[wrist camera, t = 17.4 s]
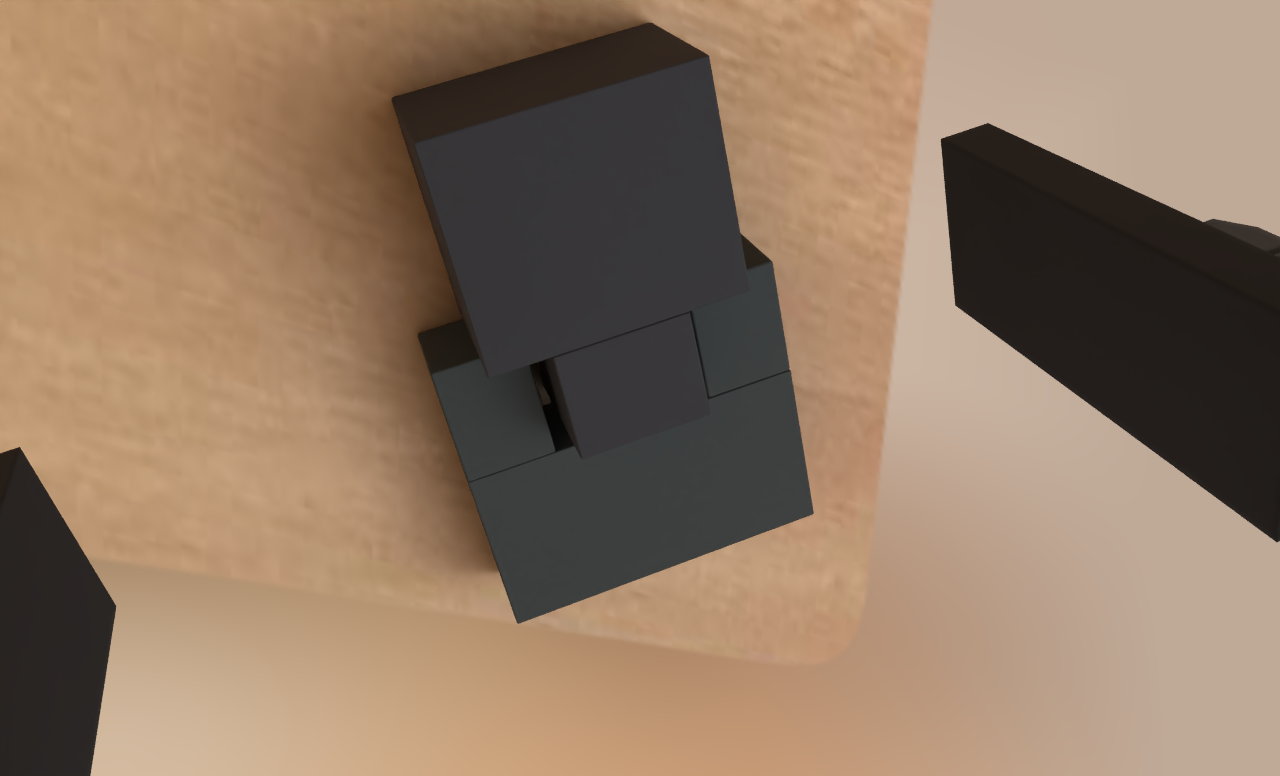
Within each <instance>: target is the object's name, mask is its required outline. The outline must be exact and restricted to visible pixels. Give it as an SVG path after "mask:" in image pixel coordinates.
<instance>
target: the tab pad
mask: <svg viewBox="0 0 1280 776" xmlns="http://www.w3.org/2000/svg"><path fill="white" fill-rule="evenodd" d="M392 103H393V106H394V109H395V112H396V115H397V118H398V122H399V125H400V128H401V131H402V134H403V137H404V140H405V143H406V146H407V149H408V153H409V156H410V159H411V162H412V165H413V168H414V171H415V174H416V177H417V180H418V184H419V187H420V190H421V193H422V196H423V199H424V202H425V205H426V208H427V211H428V214H429V218H430V221H431V224H432V227H433V230H434V233H435V236H436V239H437V242H438V245H439V249H440V252H441V255H442V258H443V261H444V264H445V267H446V270H447V273H448V276H449V280H450V283H451V286H452V289H453V292H454V295H455V298H456V301H457V304H458V307H459V310H460V313H461V315H462V317H463V320H464V322H465V325H466V327H467V329H468V332H469V334H470V337H471V339H472V341H473V344H474V346H475V348H476V351H477V353H478V356H479V358H480V360H481V363H482V365H483V367H484V370H485V372H486V375H487V377H488V378H492V377H495V376H498V375H501V374H504V373H507V372H510V371H513V370H516V369H519V368H522V367H525V366H528V365H531V364H534V363H538V367H539V370H540V374H541V377H542V380H543V384H544V387H545V389H546V391H547V393H548V395H549V397H550V399H551V401H552V403H553V405H554V406H555V408H556V410H557V412H558V414H559V416H560V418H561V420H562V422H563V424H564V426H565V428H566V430H567V432H568V434H569V436H570V438H571V440H572V442H573V444H574V446H575V448H576V450H577V452H578V454H579V456H580V458H581V459H586V458H589V457H591V456H594V455H597V454H600V453H603V452H606V451H608V450H611V449H614V448H617V447H620V446H623V445H626V444H628V443H631V442H634V441H637V440H640V439H643V438H646V437H648V436H651V435H654V434H657V433H660V432H663V431H666V430H668V429H671V428H674V427H677V426H680V425H683V424H685V423H688V422H691V421H694V420H697V419H700V418H703V417H705V416H708V415H710V414H711V411H710V406H709V401H708V397H707V392H706V387H705V382H704V377H703V373H702V368H701V363H700V358H699V353H698V349H697V344H696V339H695V334H694V329H693V324H692V320H691V315H690V312H689V311H692V310H695V309H698V308H701V307H704V306H707V305H710V304H713V303H716V302H719V301H722V300H725V299H728V298H731V297H734V296H737V295H740V294H743V293H746V292H749V291H750V286H749V281H748V275H747V269H746V264H745V258H744V252H743V247H742V241H741V235H740V229H739V224H738V218H737V212H736V207H735V201H734V195H733V190H732V184H731V178H730V173H729V167H728V161H727V155H726V150H725V144H724V138H723V133H722V127H721V121H720V116H719V110H718V104H717V98H716V93H715V87H714V81H713V76H712V70H711V64H710V59H709V56H708V55H707V54H705V53H704V52H702V51H700V50H698V49H697V48H695V47H693V46H691V45H690V44H688V43H686V42H684V41H683V40H681V39H679V38H677V37H676V36H674V35H672V34H670V33H669V32H667V31H665V30H663V29H662V28H660V27H658V26H656V25H655V24H653V23H647V24H644V25H640V26H637V27H633V28H630V29H626V30H623V31H619V32H616V33H613V34H609V35H606V36H602V37H599V38H595V39H592V40H589V41H585V42H582V43H578V44H575V45H571V46H568V47H564V48H561V49H558V50H554V51H551V52H547V53H544V54H540V55H537V56H533V57H530V58H527V59H523V60H520V61H516V62H513V63H509V64H506V65H503V66H499V67H496V68H492V69H489V70H485V71H482V72H478V73H475V74H472V75H468V76H465V77H461V78H458V79H454V80H451V81H447V82H444V83H441V84H437V85H434V86H430V87H427V88H423V89H420V90H417V91H413V92H410V93H406V94H403V95H399V96H396V97H393V98H392Z"/></svg>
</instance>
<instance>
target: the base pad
mask: <svg viewBox="0 0 1280 776" xmlns="http://www.w3.org/2000/svg"><path fill="white" fill-rule="evenodd" d="M740 235H741V241H742V247H743V252H744V258H745V264H746V269H747V275H748V281H749V286H750V291H749V292H746V293H743V294H740V295H737V296H734V297H731V298H728V299H725V300H722V301H719V302H716V303H713V304H710V305H707V306H704V307H701V308H698V309H695V310H692V311H689V312H690V315H691V320H692V324H693V329H694V334H695V339H696V344H697V349H698V353H699V358H700V363H701V368H702V373H703V377H704V382H705V387H706V392H707V397H708V401H709V406H710V411H711V414H710V415H708V416H705V417H703V418H700V419H697V420H694V421H691V422H688V423H685V424H683V425H680V426H677V427H674V428H671V429H668V430H666V431H663V432H660V433H657V434H654V435H651V436H648V437H646V438H643V439H640V440H637V441H634V442H631V443H628V444H626V445H623V446H620V447H617V448H614V449H611V450H608V451H606V452H603V453H600V454H597V455H594V456H591V457H589V458H586V459H581V458H580V456H579V454H578V452H577V450H576V448H575V446H574V444H573V442H572V440H571V438H570V436H569V434H568V432H567V430H566V428H565V426H564V424H563V422H562V420H561V418H560V416H559V414H558V412H557V410H556V408H555V406H554V405H553V404H550V405H547V406H544V407H542V403H541V400H540V396H539V393H538V390H537V386H536V383H535V380H534V376H533V373H532V369H531V366H530V365H528V366H525V367H522V368H519V369H516V370H513V371H510V372H507V373H504V374H501V375H498V376H495V377H492V378H488V377H487V375H486V372H485V370H484V367H483V365H482V363H481V360H480V358H479V356H478V353H477V351H476V348H475V346H474V344H473V341H472V339H471V337H470V334H469V332H468V329H467V327H466V325H465V322H464V320H460V321H457V322H454V323H451V324H447V325H444V326H441V327H438V328H435V329H432V330H429V331H426V332H423V333H420V334H418V338H419V342H420V345H421V348H422V351H423V354H424V357H425V360H426V363H427V366H428V369H429V372H430V375H431V378H432V381H433V384H434V387H435V390H436V392H437V395H438V398H439V401H440V404H441V407H442V410H443V412H444V415H445V418H446V421H447V424H448V427H449V430H450V432H451V435H452V438H453V441H454V444H455V447H456V450H457V452H458V455H459V458H460V461H461V464H462V467H463V470H464V473H465V475H466V478H467V481H468V484H469V487H470V490H471V493H472V495H473V498H474V501H475V504H476V507H477V510H478V513H479V515H480V518H481V521H482V524H483V527H484V530H485V533H486V535H487V538H488V541H489V544H490V547H491V550H492V553H493V556H494V558H495V561H496V564H497V567H498V570H499V573H500V576H501V578H502V581H503V584H504V587H505V590H506V593H507V596H508V598H509V601H510V604H511V607H512V610H513V613H514V616H515V618H516V621H517V623H518V624H519V623H522V622H524V621H527V620H530V619H532V618H535V617H538V616H540V615H543V614H546V613H549V612H551V611H554V610H557V609H559V608H562V607H565V606H567V605H570V604H573V603H575V602H578V601H581V600H584V599H586V598H589V597H592V596H594V595H597V594H600V593H602V592H605V591H608V590H610V589H613V588H616V587H618V586H621V585H624V584H627V583H629V582H632V581H635V580H637V579H640V578H643V577H645V576H648V575H651V574H653V573H656V572H659V571H662V570H664V569H667V568H670V567H672V566H675V565H678V564H680V563H683V562H686V561H688V560H691V559H694V558H697V557H699V556H702V555H705V554H707V553H710V552H713V551H715V550H718V549H721V548H723V547H726V546H729V545H731V544H734V543H737V542H740V541H742V540H745V539H748V538H750V537H753V536H756V535H758V534H761V533H764V532H766V531H769V530H772V529H775V528H777V527H780V526H783V525H785V524H788V523H791V522H793V521H796V520H799V519H801V518H804V517H807V516H809V515H812V514H813V513H814V512H813V506H812V500H811V494H810V488H809V481H808V475H807V469H806V463H805V457H804V451H803V445H802V438H801V432H800V426H799V420H798V414H797V408H796V402H795V395H794V389H793V383H792V377H791V371H790V370H789V361H788V355H787V349H786V343H785V337H784V331H783V325H782V318H781V312H780V306H779V300H778V294H777V288H776V282H775V275H774V269H773V263H772V261H771V260H770V259H769V258H768V257H766V256H765V255H764V254H763V253H762V252H761V251H760V250H759V249H757V248H756V247H755V246H754V245H753V244H752V243H751V242H750V241H749V240H747V239H746V238H745V237H744V236H743V235H742V234H741V233H740Z"/></svg>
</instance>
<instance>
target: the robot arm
mask: <svg viewBox="0 0 1280 776" xmlns="http://www.w3.org/2000/svg"><path fill="white" fill-rule="evenodd" d="M941 147H942V157H943V170H944V181H945V193H946V204H947V216H948V227H949V238H950V250H951V261H952V273H953V282H954V283H953V284H954V295H955V305H956V306H957V307H958V308H960V309H961V310H963V311H964V312H965V313H966V314H968V315H969V316H971V317H972V318H973V319H975V320H976V321H977V322H979V323H980V324H982V325H983V326H984V327H986V328H987V329H988V330H990V331H991V332H992V333H994V334H995V335H996V336H998V337H999V338H1000V339H1002V340H1003V341H1004V342H1006V343H1007V344H1009V345H1010V346H1011V347H1013V348H1014V349H1015V350H1017V351H1018V352H1019V353H1021V354H1022V355H1023V356H1025V357H1026V358H1028V359H1029V360H1030V361H1032V362H1033V363H1034V364H1036V365H1037V366H1038V367H1040V368H1041V369H1043V370H1044V371H1045V372H1047V373H1048V374H1049V375H1051V376H1052V377H1053V378H1055V379H1056V380H1057V381H1059V382H1060V383H1061V384H1063V385H1064V386H1066V387H1067V388H1068V389H1070V390H1071V391H1072V392H1074V393H1075V394H1076V395H1078V396H1079V397H1080V398H1082V399H1083V400H1084V401H1086V402H1087V403H1089V404H1090V405H1091V406H1093V407H1094V408H1096V409H1097V410H1098V411H1100V412H1101V413H1102V414H1103V415H1105V416H1106V417H1108V418H1109V419H1110V420H1112V421H1113V422H1114V423H1116V424H1117V425H1119V426H1120V427H1121V428H1123V429H1124V430H1125V431H1127V432H1128V433H1129V434H1131V435H1132V436H1133V437H1135V438H1136V439H1137V440H1139V441H1140V442H1142V443H1143V444H1144V445H1146V446H1147V447H1148V448H1150V449H1151V450H1152V451H1154V452H1155V453H1156V454H1158V455H1159V456H1160V457H1162V458H1163V459H1165V460H1166V461H1167V462H1169V463H1170V464H1171V465H1173V466H1174V467H1175V468H1177V469H1178V470H1179V471H1181V472H1182V473H1184V474H1185V475H1186V476H1188V477H1189V478H1190V479H1192V480H1193V481H1194V482H1196V483H1197V484H1199V485H1200V486H1201V487H1203V488H1204V489H1205V490H1207V491H1208V492H1209V493H1211V494H1212V495H1214V496H1215V497H1216V498H1218V499H1219V500H1220V501H1222V502H1223V503H1224V504H1226V505H1227V506H1228V507H1230V508H1231V509H1232V510H1234V511H1235V512H1236V513H1238V514H1239V515H1241V516H1242V517H1243V518H1245V519H1246V520H1247V521H1249V522H1250V523H1252V524H1253V525H1254V526H1255V527H1257V528H1258V529H1260V530H1261V531H1262V532H1264V533H1265V534H1267V535H1268V536H1269V537H1270V538H1272V539H1273V540H1275V541H1276V542H1279V541H1280V237H1279V236H1276V235H1274V234H1272V233H1270V232H1267V231H1265V230H1263V229H1261V228H1258V227H1254V226H1248V225H1243V224H1237V223H1232V222H1227V221H1221V220H1216V219H1211V220H1209V221H1206V222H1202V221H1199V220H1197V219H1195V218H1193V217H1191V216H1188V215H1186V214H1184V213H1182V212H1180V211H1178V210H1175V209H1173V208H1171V207H1169V206H1167V205H1165V204H1162V203H1160V202H1158V201H1156V200H1153V199H1152V198H1149V197H1147V196H1145V195H1143V194H1141V193H1138V192H1136V191H1134V190H1132V189H1130V188H1127V187H1125V186H1123V185H1121V184H1119V183H1117V182H1115V181H1113V180H1110V179H1108V178H1106V177H1104V176H1101V175H1099V174H1097V173H1095V172H1093V171H1091V170H1089V169H1086V168H1084V167H1082V166H1080V165H1078V164H1076V163H1073V162H1071V161H1069V160H1067V159H1065V158H1063V157H1060V156H1058V155H1056V154H1054V153H1051V152H1050V151H1047V150H1045V149H1043V148H1041V147H1039V146H1036V145H1034V144H1032V143H1030V142H1028V141H1026V140H1023V139H1021V138H1019V137H1017V136H1015V135H1013V134H1010V133H1008V132H1006V131H1004V130H1002V129H1000V128H997V127H995V126H993V125H991V124H989V123H987V124H984V125H981V126H978V127H975V128H972V129H969V130H966V131H963V132H961V133H957V134H954V135H951V136H948V137H945V138H942V139H941ZM115 611H116V605H115V603H114V602H113V600H112V598H111V597H110V595H109V594H108V592H107V590H106V589H105V587H104V585H103V584H102V582H101V580H100V579H99V577H98V575H97V574H96V572H95V570H94V569H93V567H92V565H91V564H90V562H89V560H88V559H87V557H86V555H85V554H84V552H83V551H82V549H81V547H80V546H79V544H78V542H77V541H76V539H75V537H74V536H73V534H72V532H71V531H70V529H69V527H68V526H67V524H66V522H65V521H64V519H63V517H62V516H61V514H60V513H59V511H58V509H57V508H56V506H55V504H54V503H53V501H52V499H51V498H50V496H49V494H48V493H47V491H46V489H45V488H44V486H43V484H42V483H41V481H40V480H39V478H38V476H37V475H36V473H35V471H34V470H33V468H32V466H31V465H30V463H29V461H28V460H27V458H26V456H25V455H24V453H23V451H22V450H21V448H20V447H18V448H15V449H12V450H9V451H6V452H3V453H0V776H90V774H91V767H92V761H93V755H94V748H95V742H96V735H97V729H98V721H99V715H100V709H101V702H102V696H103V690H104V683H105V676H106V670H107V663H108V657H109V650H110V644H111V637H112V631H113V624H114V618H115Z"/></svg>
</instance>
